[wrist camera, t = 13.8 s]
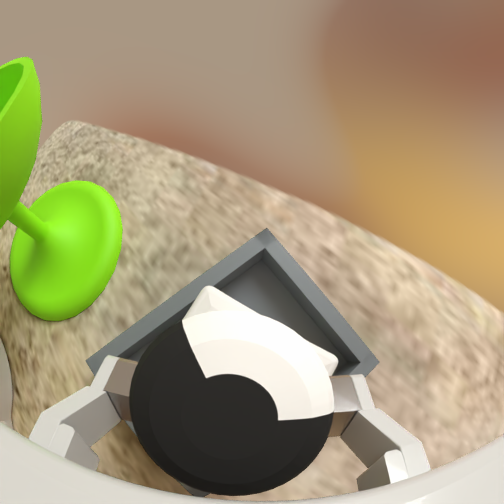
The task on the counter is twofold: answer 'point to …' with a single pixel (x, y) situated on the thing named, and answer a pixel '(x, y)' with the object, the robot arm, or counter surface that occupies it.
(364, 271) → the counter surface
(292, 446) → the medicine bottle
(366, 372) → the parts tray
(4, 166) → the wineglass
